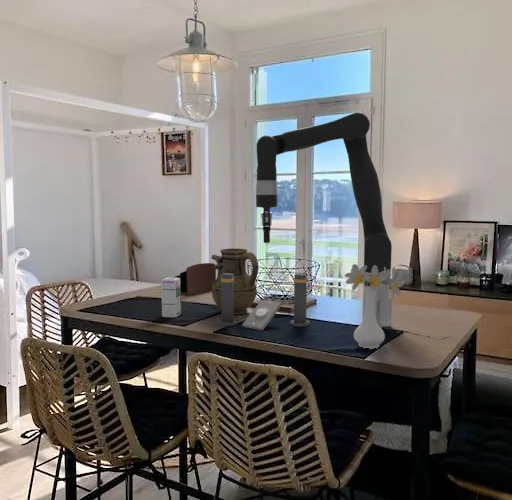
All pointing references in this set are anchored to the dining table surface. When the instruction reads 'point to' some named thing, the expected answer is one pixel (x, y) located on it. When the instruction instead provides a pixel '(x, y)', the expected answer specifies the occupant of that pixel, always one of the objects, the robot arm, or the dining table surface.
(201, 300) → the dining table surface
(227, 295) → the post
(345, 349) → the dining table surface
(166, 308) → the syrup box
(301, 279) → the post
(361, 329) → the flower vase
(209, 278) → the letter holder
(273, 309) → the light switch
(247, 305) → the decorative pitcher
